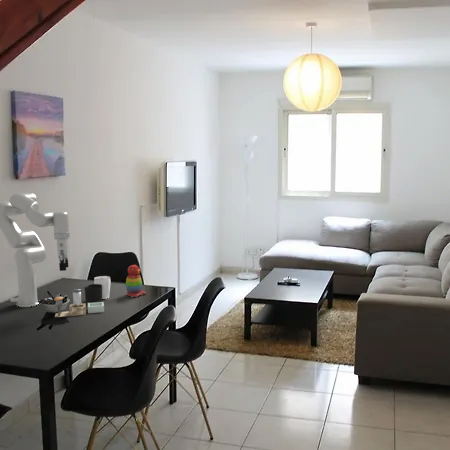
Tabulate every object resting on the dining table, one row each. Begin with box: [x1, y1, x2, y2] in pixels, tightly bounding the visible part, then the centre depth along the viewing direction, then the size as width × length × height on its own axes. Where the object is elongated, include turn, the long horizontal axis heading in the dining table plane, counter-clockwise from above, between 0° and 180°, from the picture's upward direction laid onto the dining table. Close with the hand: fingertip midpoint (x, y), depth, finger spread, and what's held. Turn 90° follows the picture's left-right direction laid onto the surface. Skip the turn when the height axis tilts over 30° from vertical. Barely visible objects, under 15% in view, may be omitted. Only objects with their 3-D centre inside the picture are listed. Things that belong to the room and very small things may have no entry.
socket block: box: [54, 302, 87, 318], centre depth 282 cm, size 15×9×6 cm, turn 103°
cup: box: [93, 275, 112, 300], centre depth 315 cm, size 9×9×12 cm
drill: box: [72, 288, 83, 307], centre depth 282 cm, size 4×4×12 cm
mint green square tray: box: [87, 301, 105, 314], centre depth 287 cm, size 8×8×4 cm
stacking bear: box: [125, 264, 147, 297], centre depth 321 cm, size 11×10×18 cm
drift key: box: [54, 296, 64, 308], centre depth 280 cm, size 4×4×4 cm
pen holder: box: [83, 283, 103, 305], centre depth 303 cm, size 9×9×10 cm
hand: (64, 268), depth 287 cm, fingers open, 9 cm apart
